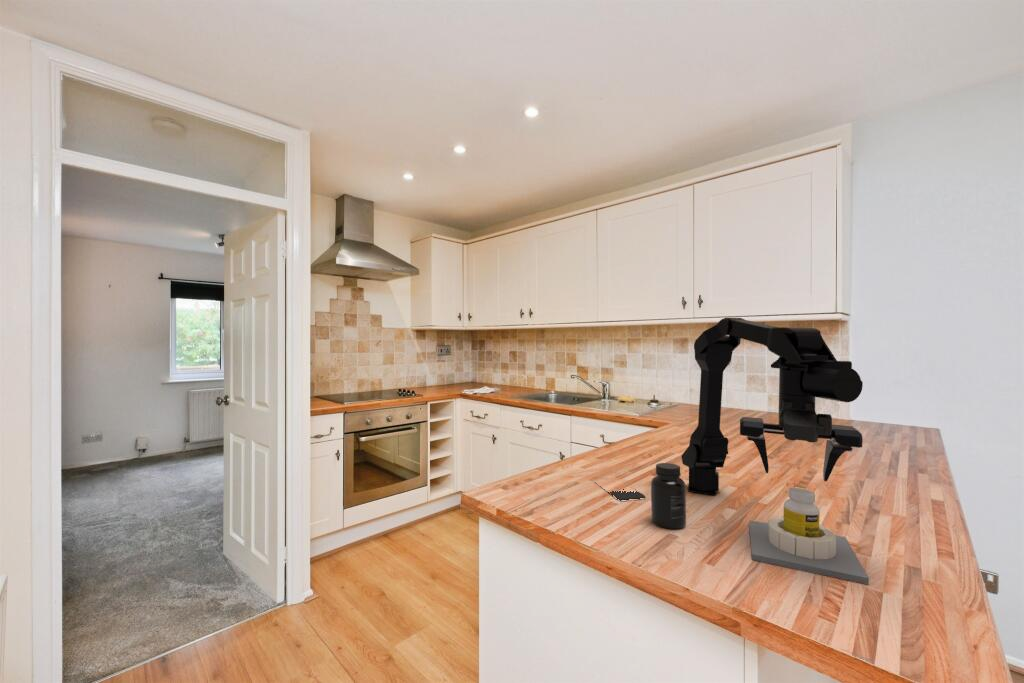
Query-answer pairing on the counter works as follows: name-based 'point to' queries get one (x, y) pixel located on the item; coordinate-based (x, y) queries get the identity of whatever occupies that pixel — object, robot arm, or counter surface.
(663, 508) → the supplement bottle
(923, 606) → the counter surface
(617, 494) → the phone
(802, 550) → the bottle holder
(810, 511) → the supplement bottle
